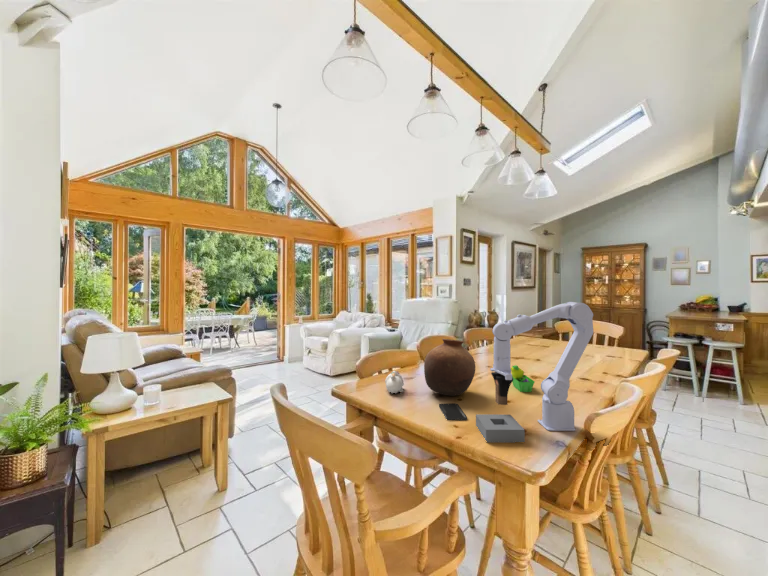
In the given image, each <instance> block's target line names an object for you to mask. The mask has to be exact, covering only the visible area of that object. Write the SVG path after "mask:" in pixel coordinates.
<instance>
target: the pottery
mask: <svg viewBox="0 0 768 576" xmlns="http://www.w3.org/2000/svg"><path fill="white" fill-rule="evenodd" d="M441 340H442V341H443V343H442V344H439V345H437V346H435V347H433V348H432V349H431V350H429V351H428V353H426V356H425V357H424V358H425V359H424V364H423V368H424V369H423V372H424V373H423V374H424V380H425V383H426V385H427V387H428V388H429V389H430V390H431V391H432V392H434V393H437V394H440V395H444V396H452V397H453V396H460V395H462V394H464V393H465V392H466V391H467V390H468V389H469V387H470V385H471V384H472V383H473V379H474V377H475V374H476V362H475V361H476V360H475V357H473V355H472V354H471V353H470V352H469V351H468V350H467V349H466V348H464V346H463V345H462V344H464V341H463V340H457V339H450V338H442V339H441Z"/></svg>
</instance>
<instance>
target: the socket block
mask: <svg viewBox="0 0 768 576" xmlns="http://www.w3.org/2000/svg"><path fill="white" fill-rule="evenodd" d="M476 426H477V427H478V428H477V427H476ZM475 427H476V428H477V430H478V429H479V430H478V432H479V431H480V432H481V433H480V432H479V433H480V435H481V434H482V435H483V437H484V438H485V440H486V441H487V442H486V441H485V440H484V441H485V442H486V443H515V442H525V440H526V439H525V435H526V434H525V429H524V427H523V426H522V425H521V424H520V423H519V422H518V420H516V419H515V418H514V416H513V415H511V414H496V413H495V414H491V413H490V414H489V413H488V414H487V413H486V414H485V413H484V414H479V413H478V414H475ZM482 435H481V436H482ZM483 437H482V438H483ZM484 438H483V439H484ZM525 443H526V442H525Z"/></svg>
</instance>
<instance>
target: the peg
mask: <svg viewBox="0 0 768 576" xmlns="http://www.w3.org/2000/svg"><path fill="white" fill-rule="evenodd" d="M495 402H496V404H497V405H498V406H501V405H502V406H505V405H508V396H507V397H501V396H500V391H499V384H498V381H497V380H496V385H495Z"/></svg>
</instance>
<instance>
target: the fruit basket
mask: <svg viewBox="0 0 768 576" xmlns="http://www.w3.org/2000/svg"><path fill="white" fill-rule="evenodd" d="M510 369H511V374H512V378H513V381H512V383H511V384H512V386H513V387H514V388H515V389H517V390H518V392H520V393H531V392H532V391H533V387H534V384H535V382H536V381H535V380H534V379H532V378H530V377H529V376H528V375H524V373H525V371H524V370H523V369H522V368H521V367H519V366H518V365H516V364H515V365H512V366H511V367H510Z"/></svg>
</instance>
